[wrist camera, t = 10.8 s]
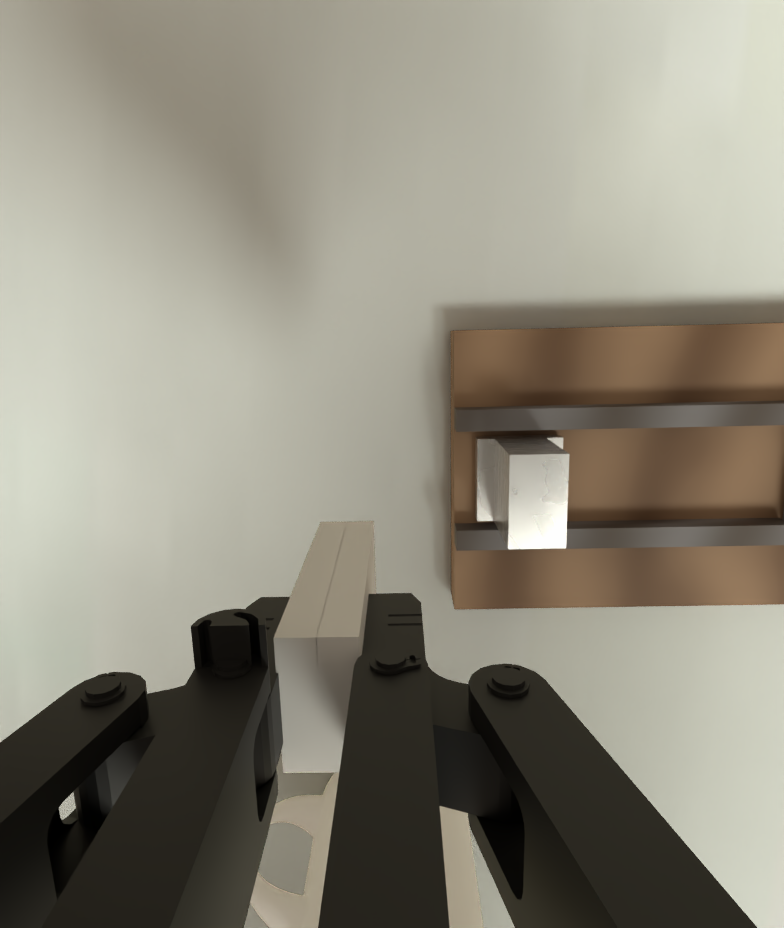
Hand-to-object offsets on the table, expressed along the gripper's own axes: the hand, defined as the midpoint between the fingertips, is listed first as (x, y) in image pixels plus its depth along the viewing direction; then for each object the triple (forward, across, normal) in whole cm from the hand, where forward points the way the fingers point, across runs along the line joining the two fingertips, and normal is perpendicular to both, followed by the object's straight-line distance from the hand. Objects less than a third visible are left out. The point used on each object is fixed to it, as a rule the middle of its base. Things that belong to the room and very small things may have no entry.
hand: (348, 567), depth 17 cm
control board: (+15, -22, +1) cm, 27 cm away
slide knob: (+13, -7, +1) cm, 15 cm away
